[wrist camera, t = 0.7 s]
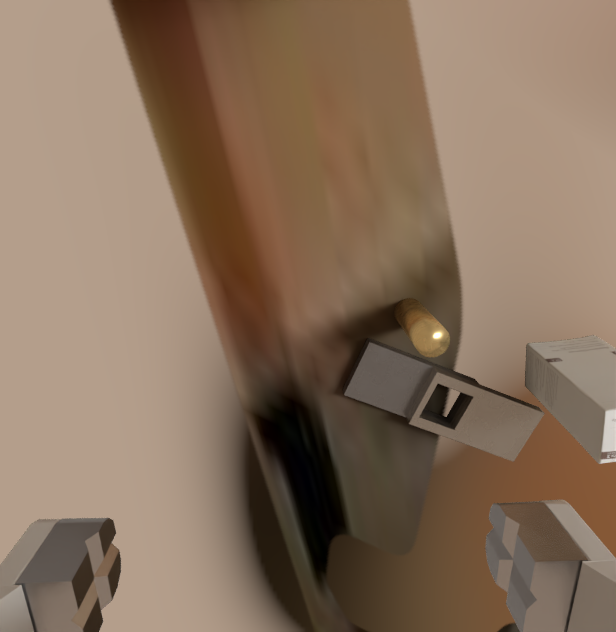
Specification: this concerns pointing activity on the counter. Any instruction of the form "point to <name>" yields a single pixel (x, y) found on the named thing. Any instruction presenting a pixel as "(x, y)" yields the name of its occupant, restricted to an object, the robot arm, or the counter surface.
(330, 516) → the counter surface
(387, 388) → the bar with square hole
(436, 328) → the pin
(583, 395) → the skincare box
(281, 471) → the counter surface
